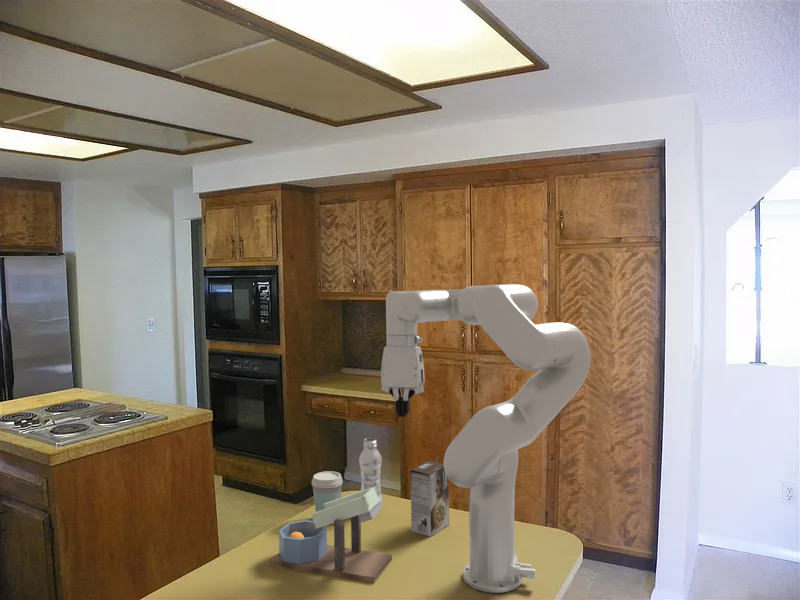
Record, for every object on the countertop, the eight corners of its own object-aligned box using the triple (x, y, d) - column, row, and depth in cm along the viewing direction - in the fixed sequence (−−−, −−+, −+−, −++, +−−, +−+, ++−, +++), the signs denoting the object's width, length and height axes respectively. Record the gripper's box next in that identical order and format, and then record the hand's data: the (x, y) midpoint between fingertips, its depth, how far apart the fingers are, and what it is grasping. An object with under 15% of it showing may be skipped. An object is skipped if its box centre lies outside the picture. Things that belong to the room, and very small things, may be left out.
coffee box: (429, 519, 158) (428, 459, 158) (450, 524, 155) (449, 464, 154) (410, 531, 151) (409, 469, 151) (431, 537, 147) (430, 473, 147)
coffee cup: (338, 527, 154) (337, 481, 154) (307, 524, 156) (306, 479, 156) (347, 514, 163) (346, 471, 162) (318, 512, 164) (317, 469, 164)
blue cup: (332, 546, 140) (332, 523, 140) (312, 566, 131) (312, 541, 130) (294, 540, 144) (294, 518, 143) (272, 559, 134) (271, 535, 134)
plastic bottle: (357, 515, 162) (355, 443, 161) (362, 505, 169) (361, 436, 168) (380, 516, 161) (378, 443, 160) (384, 506, 168) (383, 437, 167)
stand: (392, 559, 136) (391, 508, 135) (374, 582, 125) (373, 527, 125) (294, 544, 144) (293, 496, 144) (270, 565, 134) (269, 513, 133)
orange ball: (291, 542, 140) (305, 548, 139) (282, 549, 136) (297, 555, 135) (294, 526, 140) (309, 532, 139) (286, 533, 136) (301, 539, 135)
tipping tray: (393, 498, 139) (384, 477, 140) (372, 520, 127) (363, 496, 128) (343, 515, 144) (335, 494, 144) (319, 537, 132) (310, 514, 132)
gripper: (435, 340, 145) (436, 414, 146) (379, 339, 150) (380, 410, 151) (426, 343, 138) (427, 421, 139) (367, 342, 143) (368, 417, 144)
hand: (402, 415), depth 145 cm, fingers closed
